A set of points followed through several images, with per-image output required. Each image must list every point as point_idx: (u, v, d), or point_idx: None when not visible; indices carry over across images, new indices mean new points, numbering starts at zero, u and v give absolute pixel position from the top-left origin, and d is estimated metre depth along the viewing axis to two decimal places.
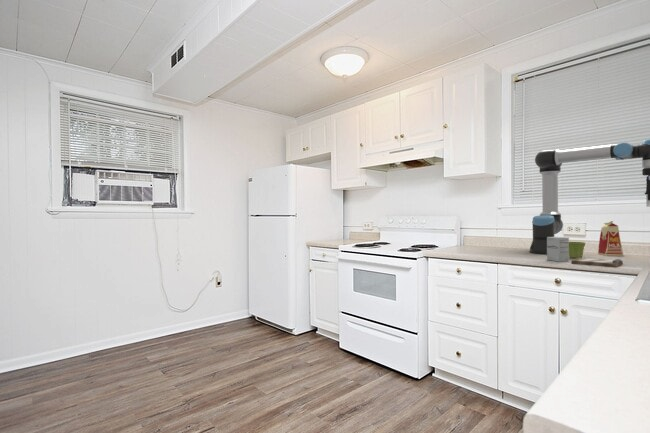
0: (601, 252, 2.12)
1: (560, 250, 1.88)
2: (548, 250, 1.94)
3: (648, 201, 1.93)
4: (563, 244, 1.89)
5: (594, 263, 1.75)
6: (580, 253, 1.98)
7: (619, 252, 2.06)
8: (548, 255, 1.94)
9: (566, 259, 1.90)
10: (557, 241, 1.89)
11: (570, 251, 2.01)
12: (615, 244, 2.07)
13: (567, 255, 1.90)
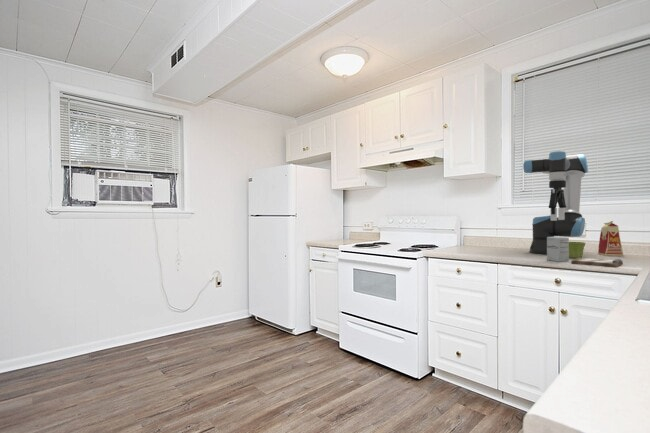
0: (601, 252, 2.12)
1: (560, 250, 1.88)
2: (548, 250, 1.94)
3: (552, 215, 1.88)
4: (563, 244, 1.89)
5: (594, 263, 1.75)
6: (580, 253, 1.98)
7: (619, 252, 2.06)
8: (548, 255, 1.94)
9: (566, 259, 1.90)
10: (557, 241, 1.89)
11: (570, 251, 2.01)
12: (615, 244, 2.07)
13: (567, 255, 1.90)
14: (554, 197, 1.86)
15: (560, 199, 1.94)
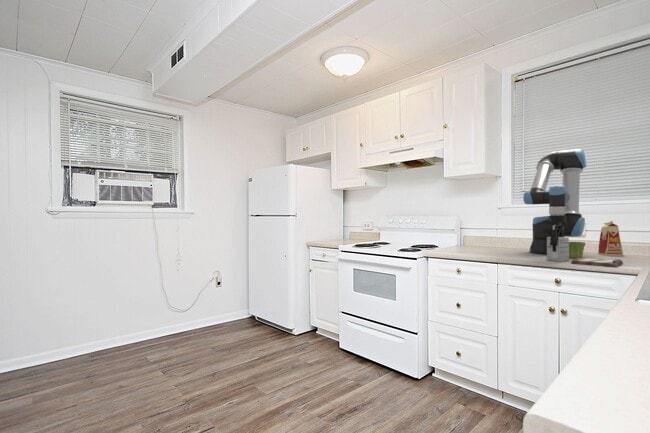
0: (601, 252, 2.12)
1: (560, 250, 1.88)
2: (548, 250, 1.94)
3: (553, 252, 1.89)
4: (563, 244, 1.89)
5: (594, 263, 1.75)
6: (580, 253, 1.98)
7: (619, 252, 2.06)
8: (548, 255, 1.94)
9: (566, 259, 1.90)
10: None
11: (570, 251, 2.01)
12: (615, 244, 2.07)
13: (567, 255, 1.90)
14: (555, 234, 1.87)
15: (560, 234, 1.94)
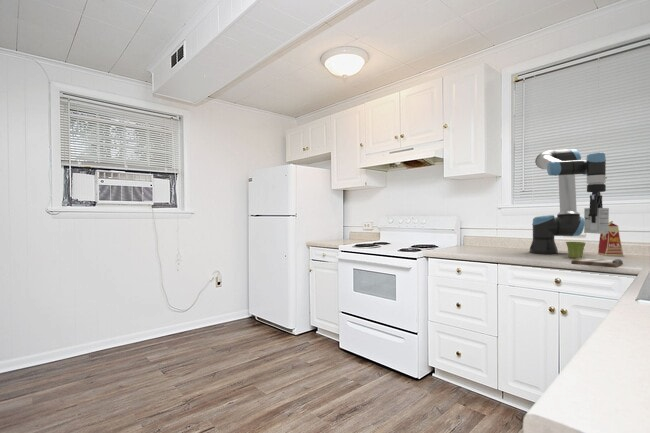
0: (601, 252, 2.12)
1: (600, 221, 1.76)
2: (586, 222, 1.81)
3: (592, 224, 1.77)
4: (603, 215, 1.76)
5: (594, 263, 1.75)
6: (580, 253, 1.98)
7: (619, 252, 2.06)
8: (586, 227, 1.81)
9: (606, 231, 1.77)
10: (597, 211, 1.76)
11: (570, 251, 2.01)
12: (615, 244, 2.07)
13: (607, 227, 1.77)
14: (594, 204, 1.74)
15: (598, 205, 1.81)
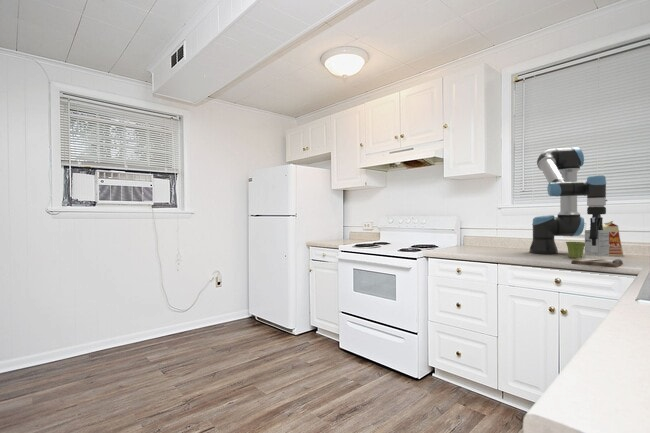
0: None
1: (600, 244, 1.76)
2: (587, 244, 1.81)
3: (592, 246, 1.77)
4: (603, 238, 1.76)
5: (594, 263, 1.75)
6: (580, 253, 1.98)
7: (619, 252, 2.06)
8: (586, 250, 1.81)
9: (606, 254, 1.77)
10: None
11: (570, 251, 2.01)
12: (615, 244, 2.07)
13: (607, 249, 1.77)
14: (595, 227, 1.74)
15: (598, 227, 1.81)
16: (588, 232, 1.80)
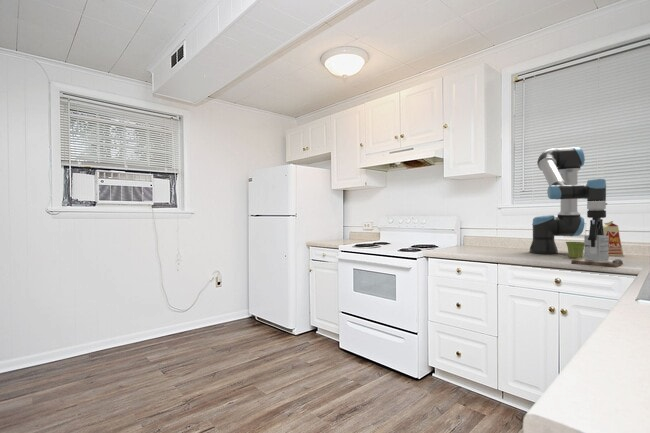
0: None
1: (600, 249, 1.76)
2: (586, 249, 1.81)
3: (591, 247, 1.76)
4: (603, 243, 1.76)
5: (594, 263, 1.75)
6: (580, 253, 1.98)
7: (619, 252, 2.06)
8: (586, 255, 1.81)
9: (606, 259, 1.77)
10: (597, 240, 1.76)
11: (570, 251, 2.01)
12: (615, 244, 2.07)
13: (607, 255, 1.77)
14: (594, 229, 1.74)
15: (599, 229, 1.82)
16: (588, 237, 1.80)
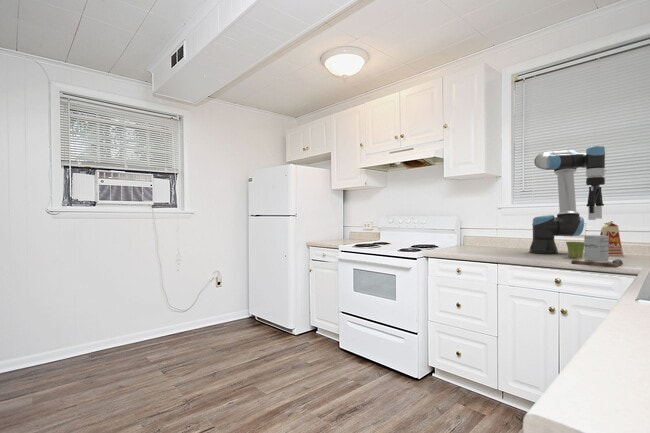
0: None
1: (600, 249, 1.76)
2: (586, 249, 1.81)
3: (590, 214, 1.77)
4: (603, 243, 1.76)
5: (594, 263, 1.75)
6: (580, 253, 1.98)
7: (619, 252, 2.06)
8: (586, 255, 1.81)
9: (606, 259, 1.77)
10: (597, 240, 1.76)
11: (570, 251, 2.01)
12: (615, 244, 2.07)
13: (607, 255, 1.77)
14: (593, 195, 1.75)
15: (598, 197, 1.84)
16: (588, 237, 1.80)
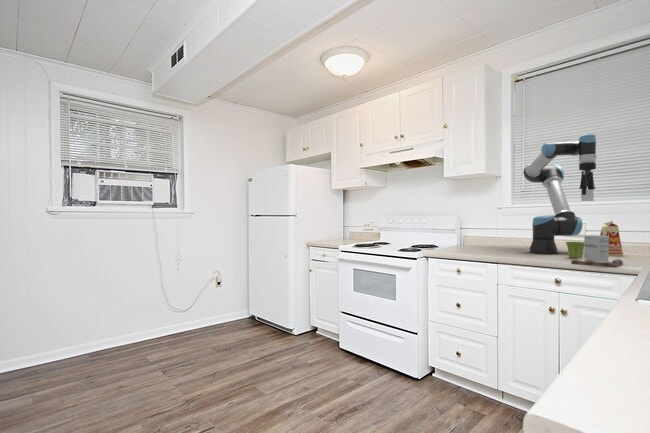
0: None
1: (600, 249, 1.76)
2: (586, 249, 1.81)
3: (583, 195, 1.95)
4: (603, 243, 1.76)
5: (594, 263, 1.75)
6: (580, 253, 1.98)
7: (619, 252, 2.06)
8: (586, 255, 1.81)
9: (606, 259, 1.77)
10: (597, 240, 1.76)
11: (570, 251, 2.01)
12: (615, 244, 2.07)
13: (607, 255, 1.77)
14: (585, 178, 1.93)
15: (589, 181, 2.01)
16: (588, 237, 1.80)
